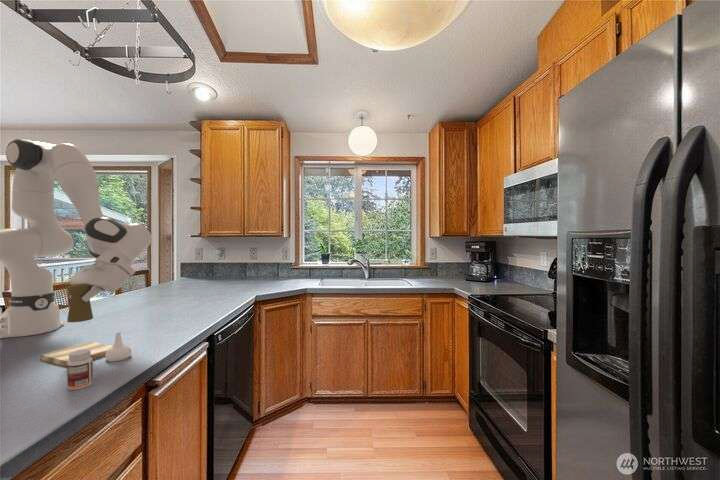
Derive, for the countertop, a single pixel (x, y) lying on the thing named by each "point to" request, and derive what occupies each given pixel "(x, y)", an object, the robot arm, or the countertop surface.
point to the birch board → (63, 354)
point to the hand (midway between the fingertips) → (77, 299)
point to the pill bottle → (79, 369)
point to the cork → (79, 304)
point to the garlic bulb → (118, 350)
